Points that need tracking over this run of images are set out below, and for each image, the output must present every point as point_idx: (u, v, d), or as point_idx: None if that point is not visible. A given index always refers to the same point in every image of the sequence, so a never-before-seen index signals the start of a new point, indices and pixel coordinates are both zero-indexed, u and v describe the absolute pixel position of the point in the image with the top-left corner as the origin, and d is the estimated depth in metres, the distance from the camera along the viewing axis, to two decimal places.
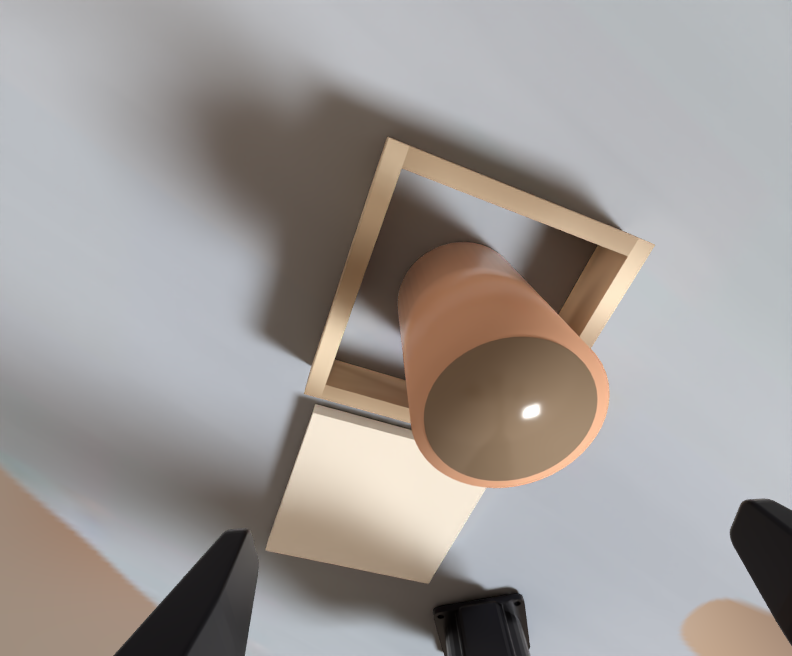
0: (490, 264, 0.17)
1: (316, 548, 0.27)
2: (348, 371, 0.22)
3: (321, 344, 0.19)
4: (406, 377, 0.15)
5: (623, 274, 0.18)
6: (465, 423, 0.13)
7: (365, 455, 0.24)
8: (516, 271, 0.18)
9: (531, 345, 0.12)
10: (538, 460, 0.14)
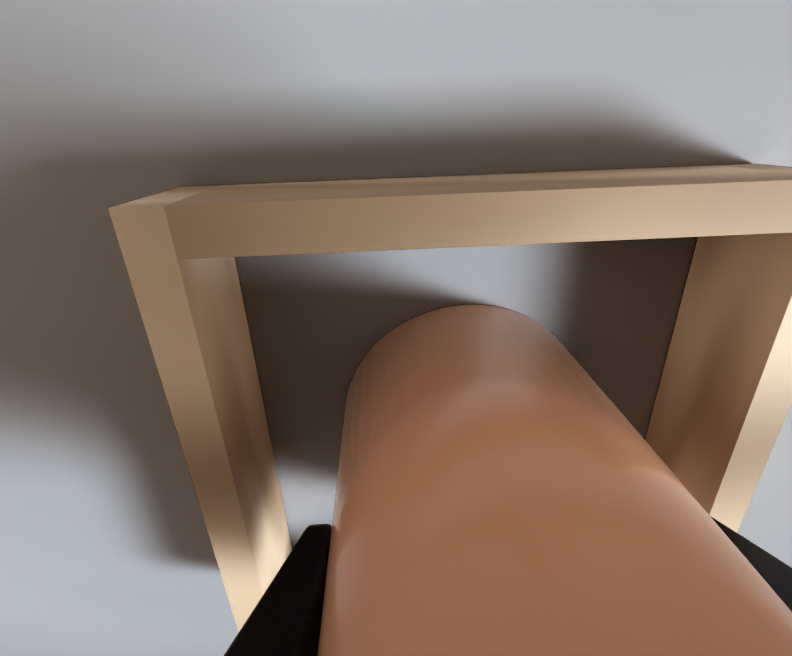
0: (471, 391, 0.07)
1: None
2: None
3: (231, 598, 0.10)
4: None
5: None
6: None
7: None
8: (544, 361, 0.08)
9: None
10: None
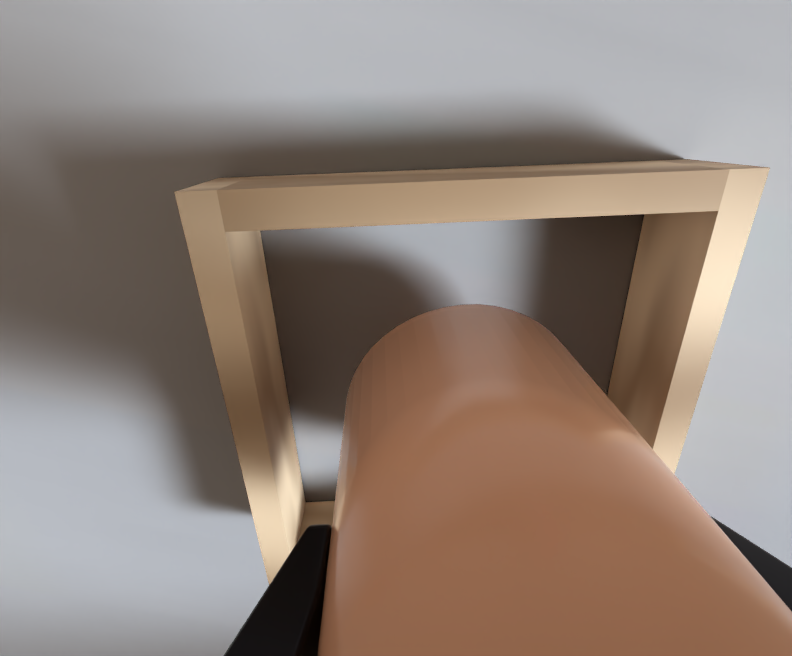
0: (470, 390, 0.07)
1: None
2: (332, 519, 0.14)
3: (256, 522, 0.12)
4: None
5: (720, 245, 0.09)
6: None
7: None
8: (544, 360, 0.08)
9: None
10: None
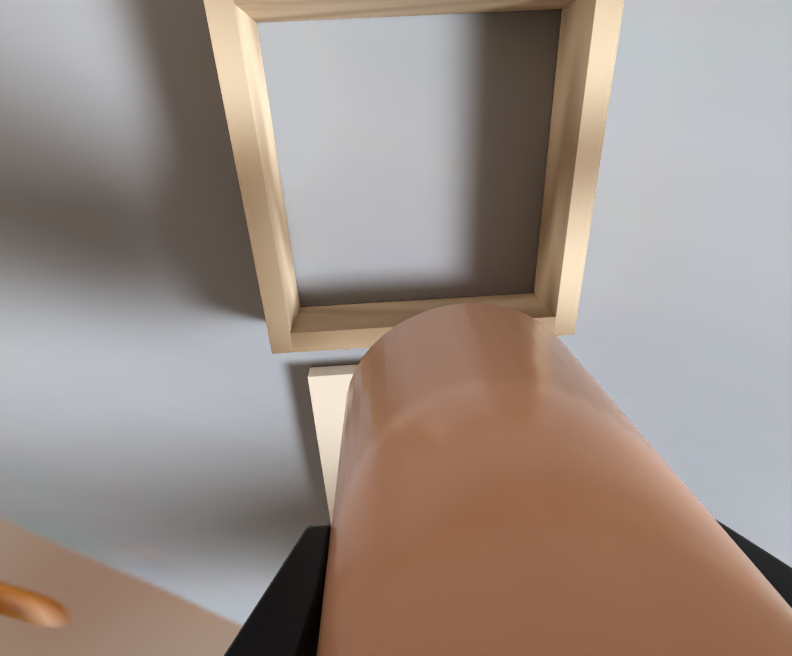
0: (471, 389, 0.07)
1: None
2: (322, 313, 0.18)
3: (260, 285, 0.15)
4: None
5: (602, 19, 0.12)
6: None
7: None
8: (544, 359, 0.08)
9: None
10: None
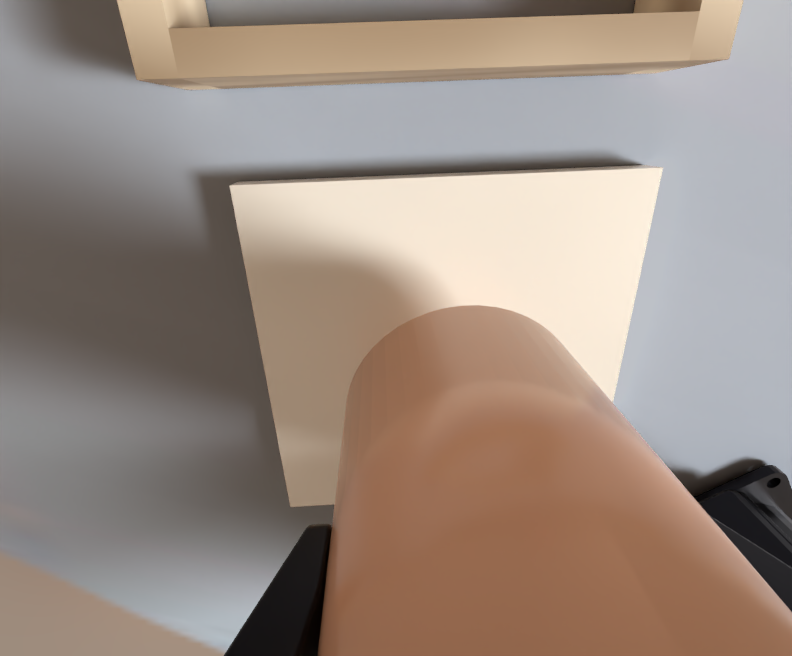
0: (471, 392, 0.07)
1: None
2: None
3: None
4: None
5: None
6: None
7: (373, 252, 0.12)
8: (545, 362, 0.08)
9: None
10: None
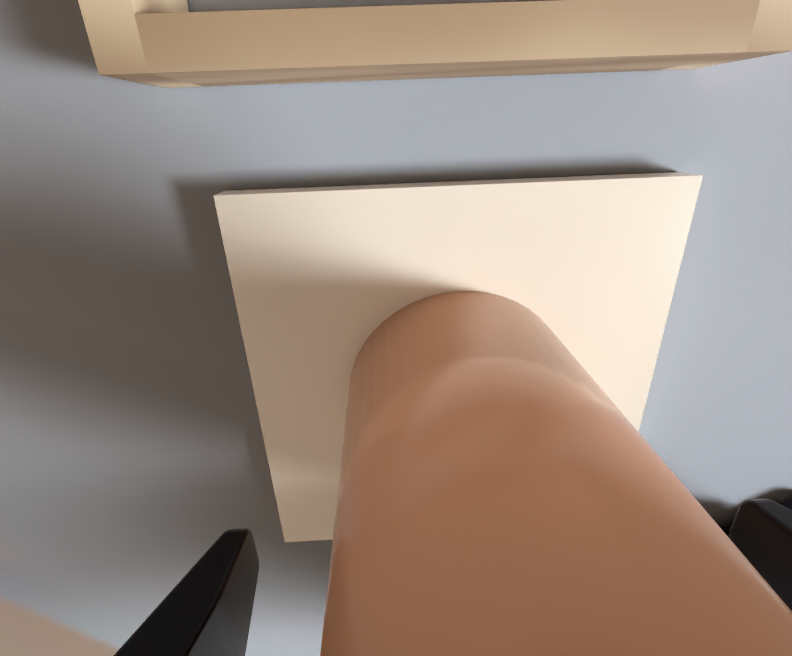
0: (462, 362, 0.08)
1: None
2: None
3: None
4: None
5: None
6: None
7: (376, 269, 0.10)
8: (529, 338, 0.09)
9: None
10: None
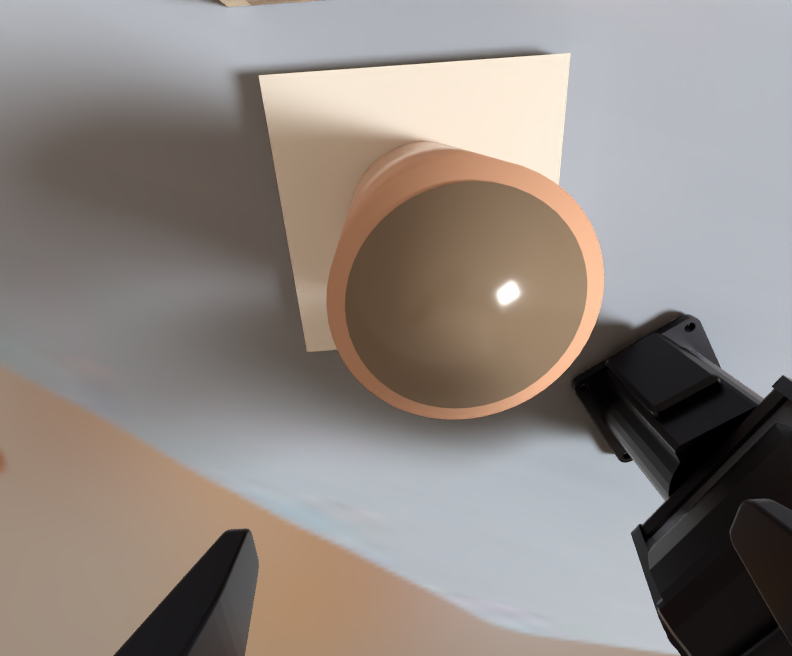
0: (412, 149, 0.13)
1: None
2: None
3: None
4: None
5: None
6: (413, 341, 0.10)
7: (363, 126, 0.16)
8: (456, 147, 0.14)
9: (440, 199, 0.08)
10: (540, 354, 0.10)
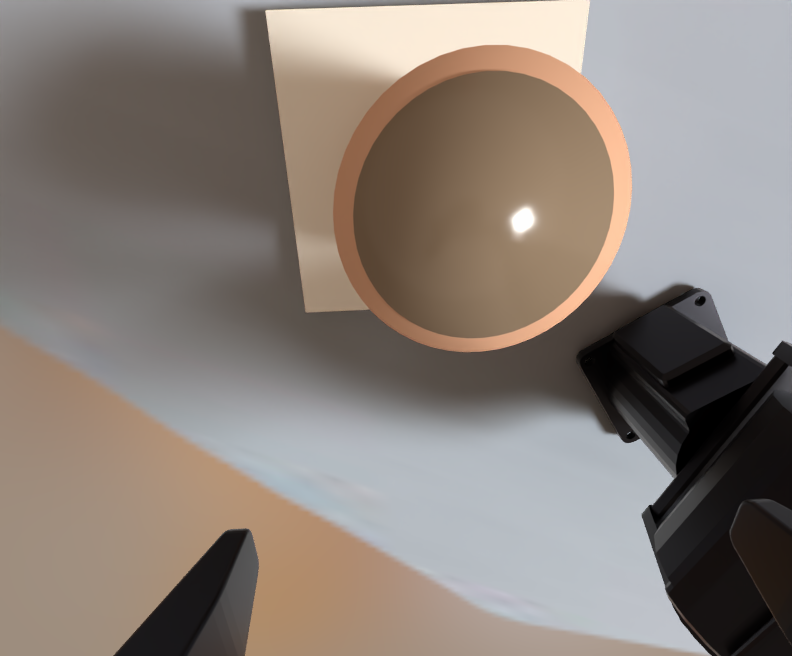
0: None
1: None
2: None
3: None
4: None
5: None
6: (425, 258, 0.09)
7: (372, 70, 0.15)
8: None
9: (460, 90, 0.08)
10: (559, 280, 0.09)
